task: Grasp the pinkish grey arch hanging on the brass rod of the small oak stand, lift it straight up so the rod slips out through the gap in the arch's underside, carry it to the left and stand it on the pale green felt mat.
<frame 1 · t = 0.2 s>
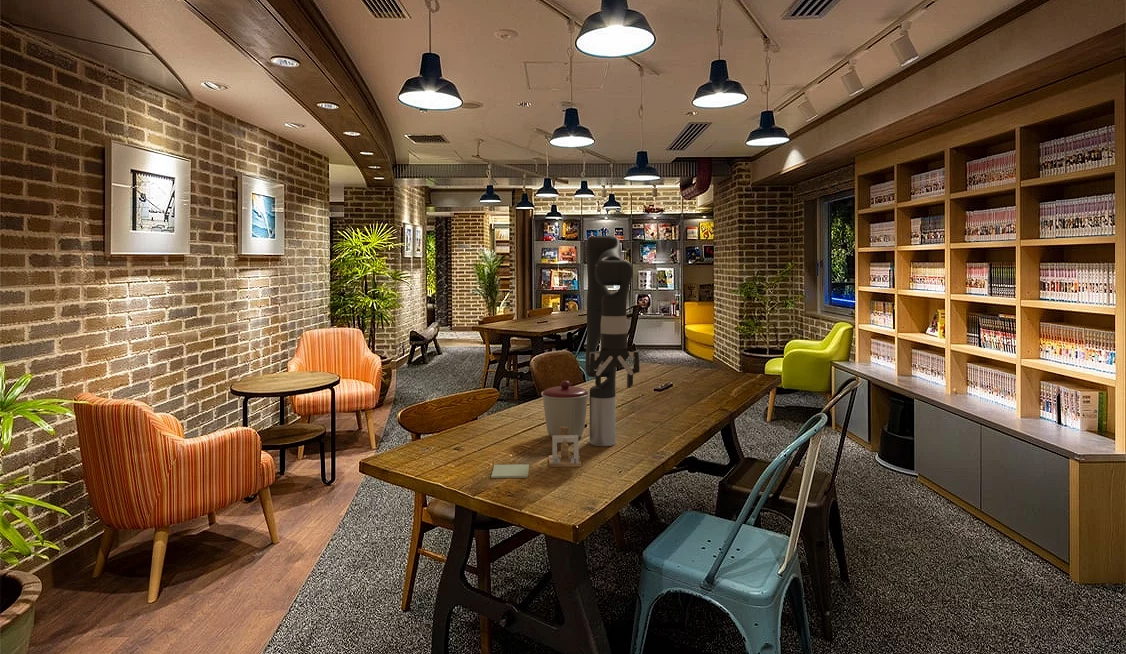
hand: (613, 387, 182), 29 cm above the table, fingers open, 8 cm apart
mat: (510, 471, 198), on the table
canister: (565, 436, 239), on the table
stand: (565, 471, 198), on the table
pinkish grey arch: (565, 461, 198), point 3 cm above the table, touching stand
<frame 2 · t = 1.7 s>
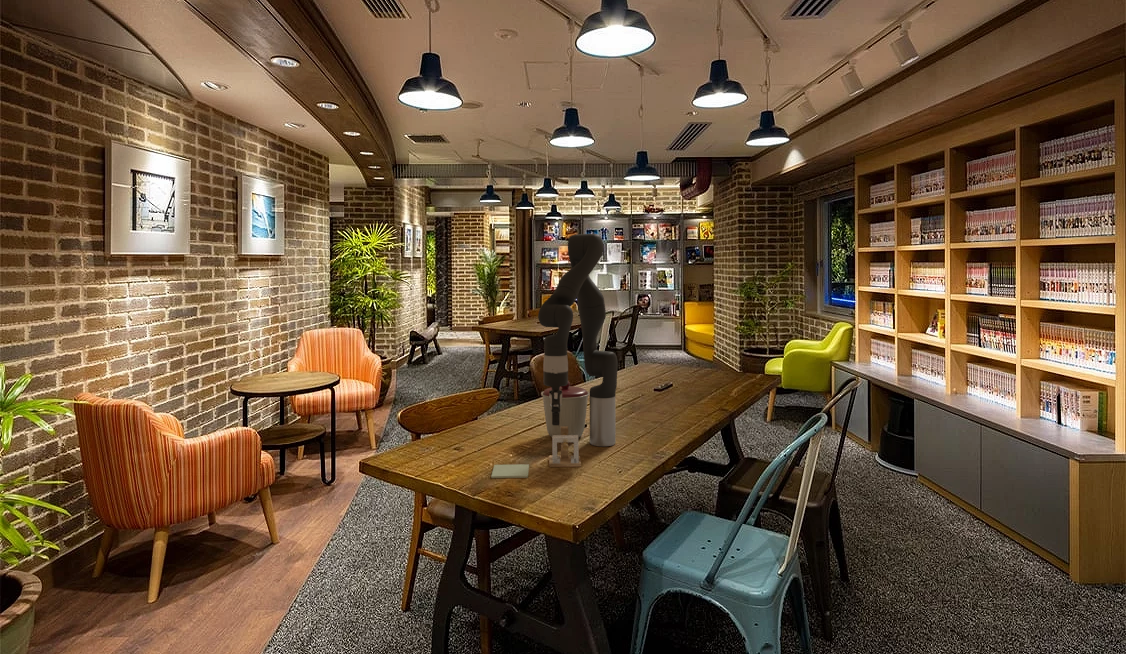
hand: (555, 421, 197), 16 cm above the table, fingers open, 8 cm apart
nothing on the table moved.
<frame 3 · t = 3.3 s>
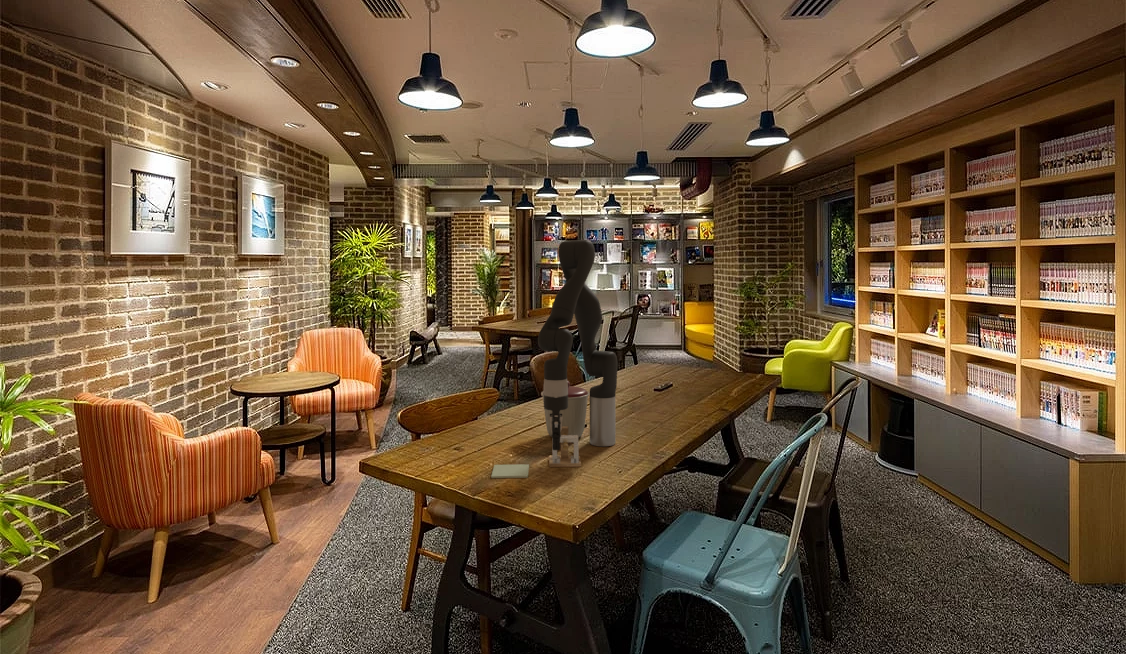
hand: (556, 447, 197), 7 cm above the table, fingers closed on pinkish grey arch, 3 cm apart
pinkish grey arch: (565, 461, 198), point 3 cm above the table, touching gripper, stand
everything else where it was.
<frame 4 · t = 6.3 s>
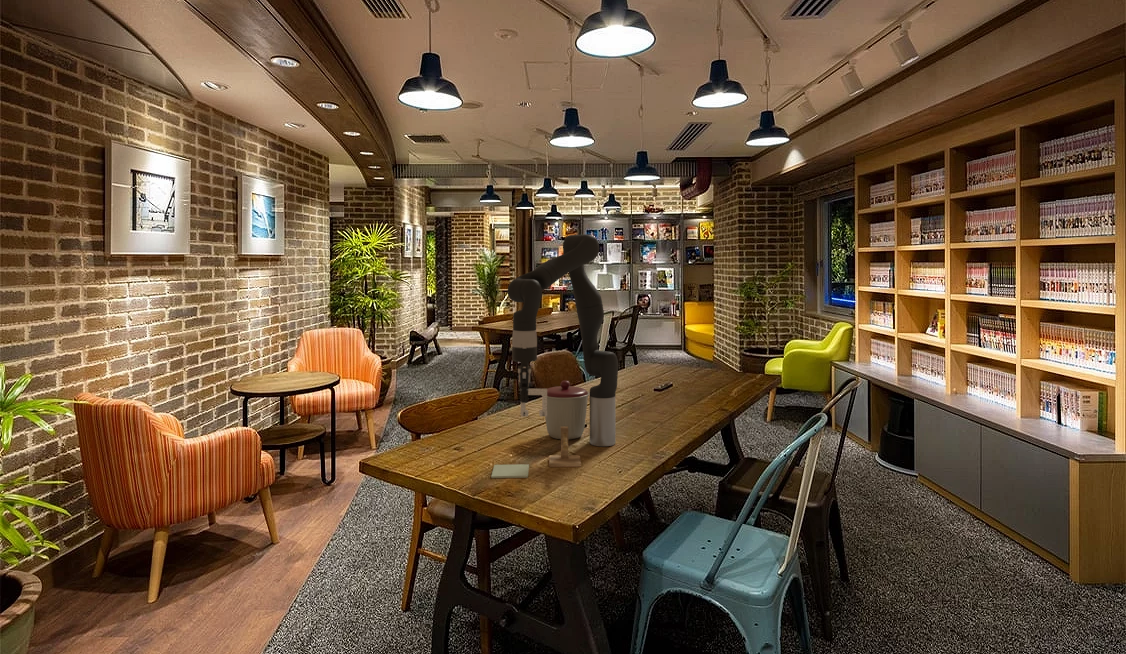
hand: (524, 401, 195), 22 cm above the table, fingers closed on pinkish grey arch, 3 cm apart
pinkish grey arch: (533, 415, 196), point 18 cm above the table, touching gripper
everything else where it was.
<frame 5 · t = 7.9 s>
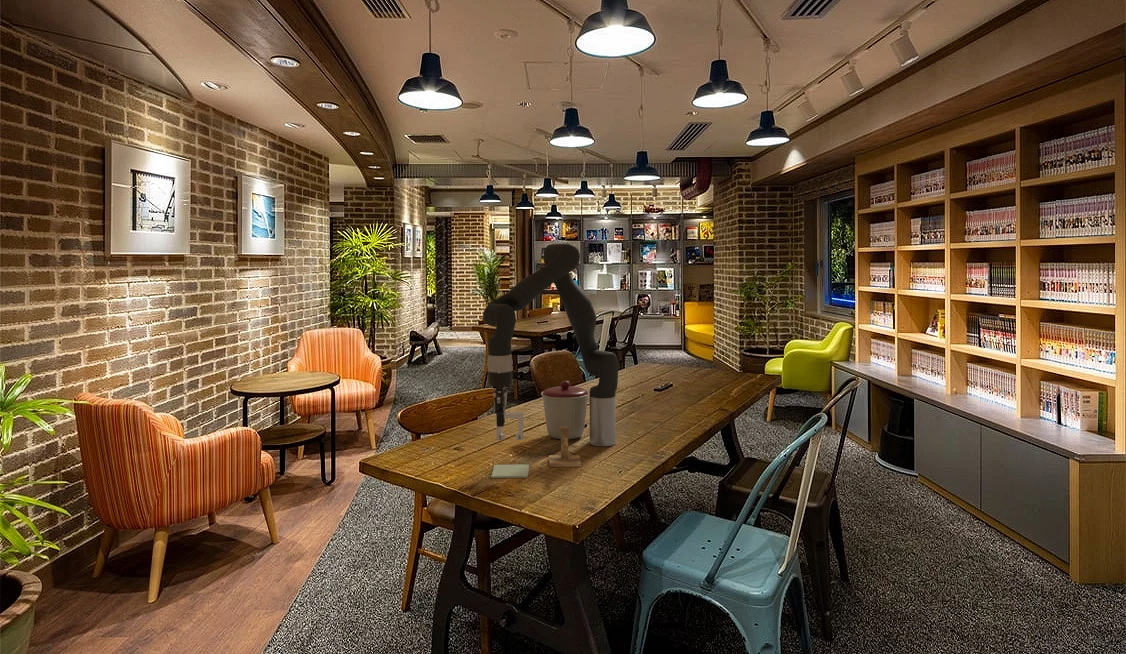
hand: (500, 424, 196), 15 cm above the table, fingers closed on pinkish grey arch, 3 cm apart
pinkish grey arch: (510, 438, 197), point 11 cm above the table, touching gripper
everything else where it was.
when the fingers open (6 cm above the table, at t = 9.4 s): pinkish grey arch drops 1 cm, resting on mat.
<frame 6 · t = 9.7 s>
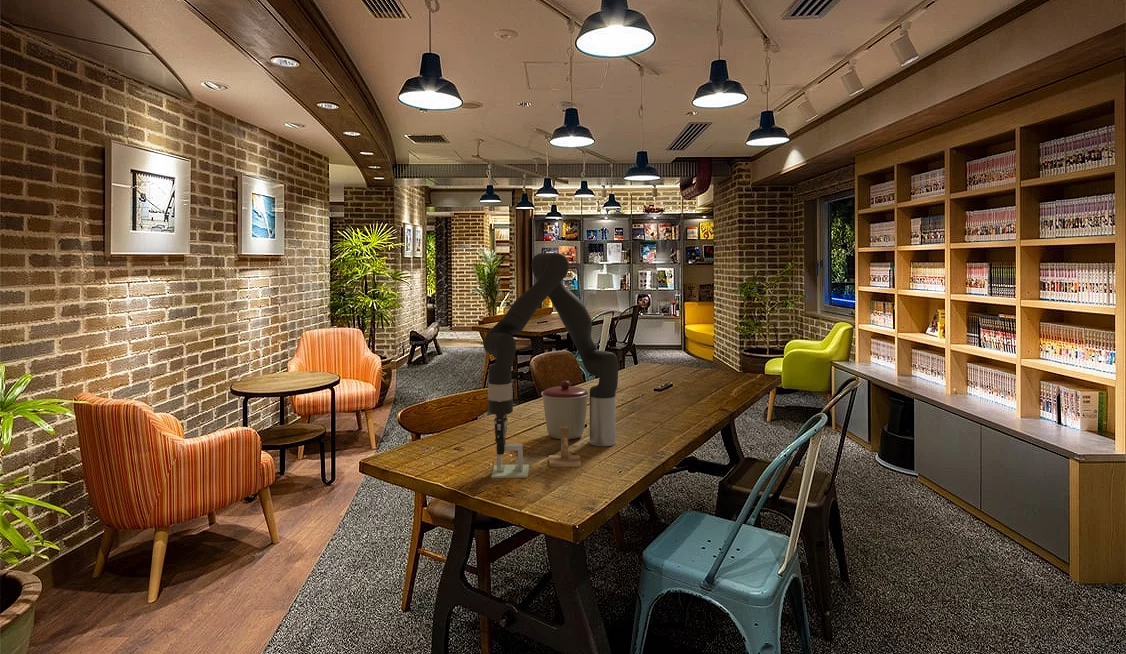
hand: (501, 451, 197), 7 cm above the table, fingers open, 5 cm apart
pinkish grey arch: (510, 470, 198), point 1 cm above the table, touching mat
everything else where it was.
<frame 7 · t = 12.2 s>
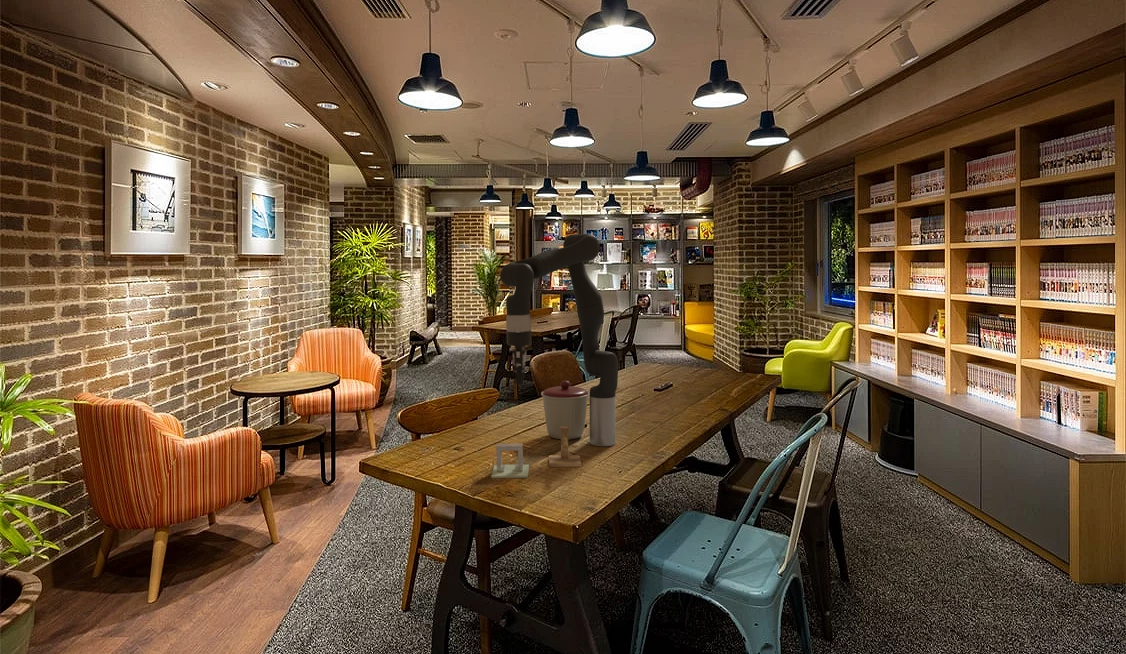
hand: (520, 381, 197), 28 cm above the table, fingers open, 8 cm apart
nothing on the table moved.
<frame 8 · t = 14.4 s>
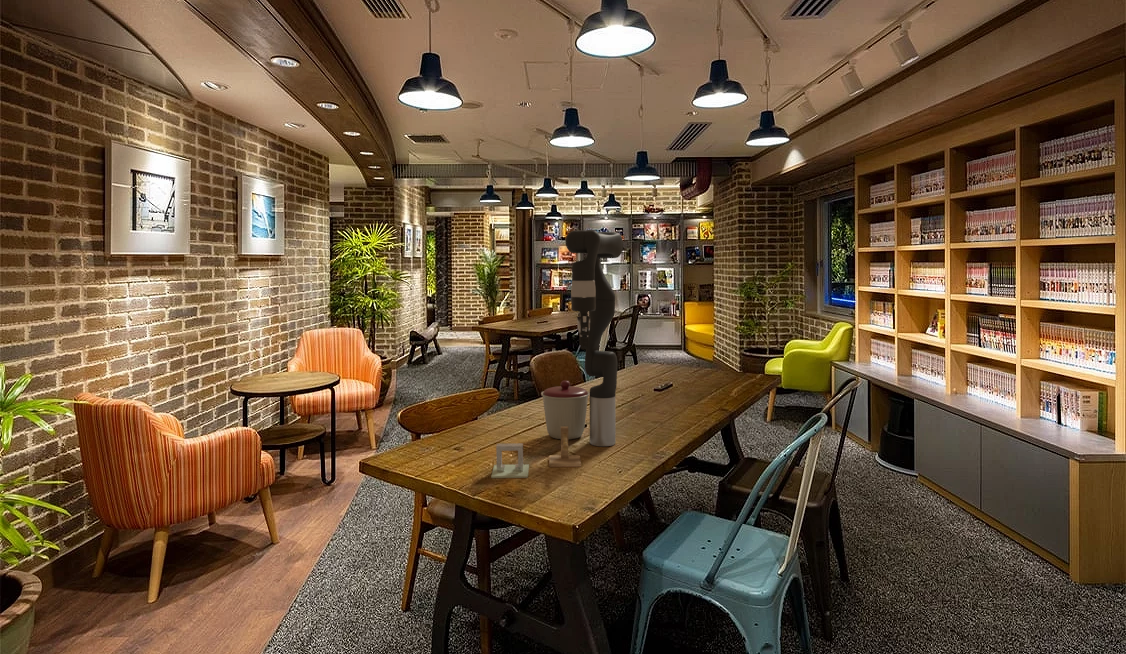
hand: (583, 347, 199), 38 cm above the table, fingers open, 8 cm apart
nothing on the table moved.
at the end: pinkish grey arch inside the target area on the mat (0.2 cm from its centre), point 0.6 cm above the mat's base; pinkish grey arch touching mat; the gripper is holding nothing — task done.
